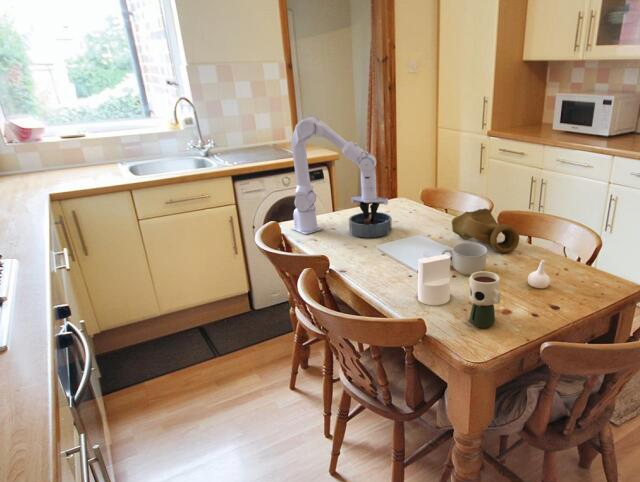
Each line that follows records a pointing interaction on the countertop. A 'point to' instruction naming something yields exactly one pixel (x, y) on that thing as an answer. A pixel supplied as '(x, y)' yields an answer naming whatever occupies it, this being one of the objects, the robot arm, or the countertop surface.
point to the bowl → (370, 231)
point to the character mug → (484, 297)
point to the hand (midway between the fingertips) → (370, 221)
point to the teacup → (467, 257)
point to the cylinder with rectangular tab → (434, 280)
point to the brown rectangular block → (369, 220)
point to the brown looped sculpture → (485, 230)
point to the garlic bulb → (539, 277)
